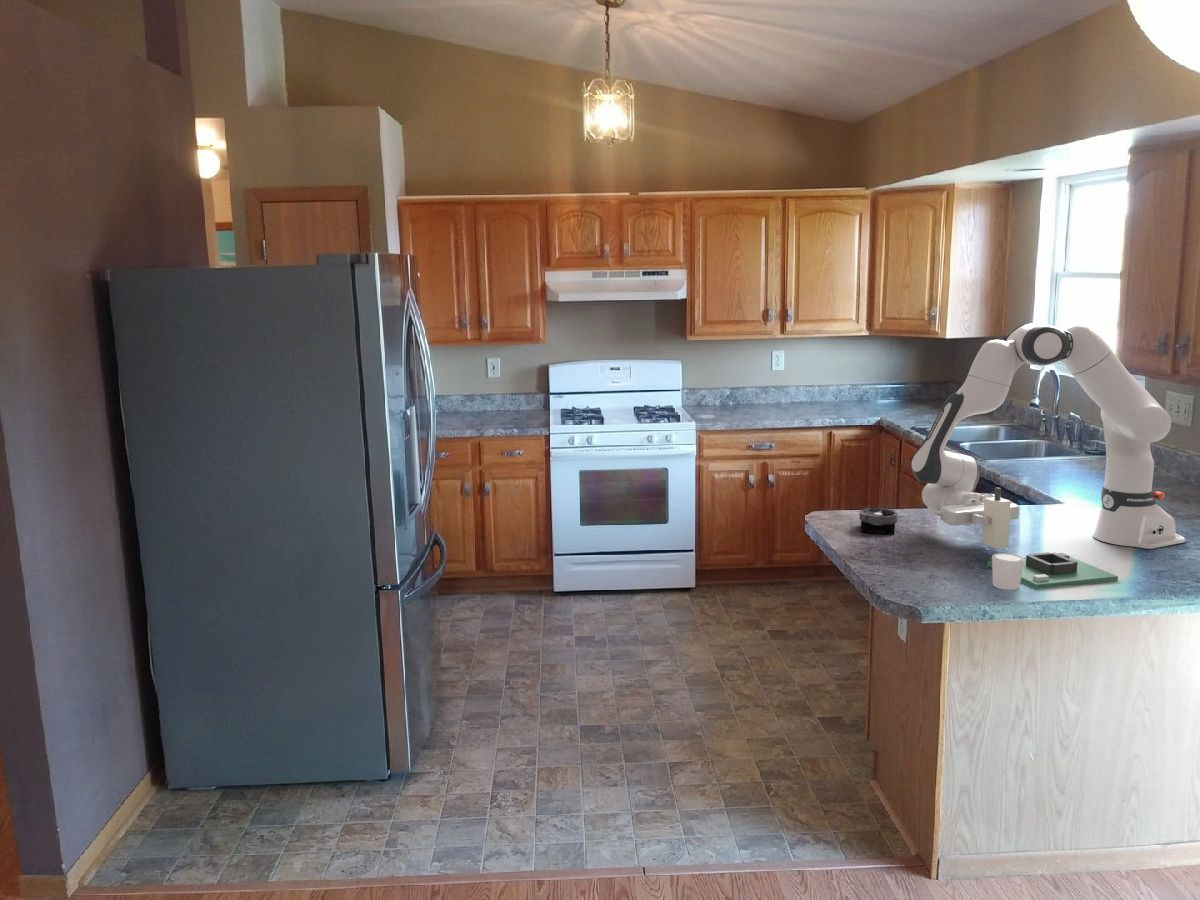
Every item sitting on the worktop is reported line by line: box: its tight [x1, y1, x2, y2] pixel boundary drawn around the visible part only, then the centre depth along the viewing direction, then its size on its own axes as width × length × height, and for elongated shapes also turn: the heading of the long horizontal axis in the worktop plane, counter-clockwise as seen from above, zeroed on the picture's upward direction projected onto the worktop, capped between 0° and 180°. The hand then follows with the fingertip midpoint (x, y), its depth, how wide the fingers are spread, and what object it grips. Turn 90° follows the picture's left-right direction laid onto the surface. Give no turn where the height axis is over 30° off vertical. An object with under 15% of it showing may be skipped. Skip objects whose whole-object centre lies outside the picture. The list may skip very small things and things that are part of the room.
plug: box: [981, 487, 1012, 549], centre depth 225 cm, size 4×5×15 cm
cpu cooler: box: [858, 507, 898, 536], centre depth 254 cm, size 10×6×10 cm
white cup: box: [991, 552, 1025, 591], centre depth 206 cm, size 7×7×7 cm
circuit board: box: [986, 551, 1119, 590], centre depth 214 cm, size 22×18×4 cm
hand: (998, 520), depth 224 cm, fingers closed on plug, 4 cm apart
